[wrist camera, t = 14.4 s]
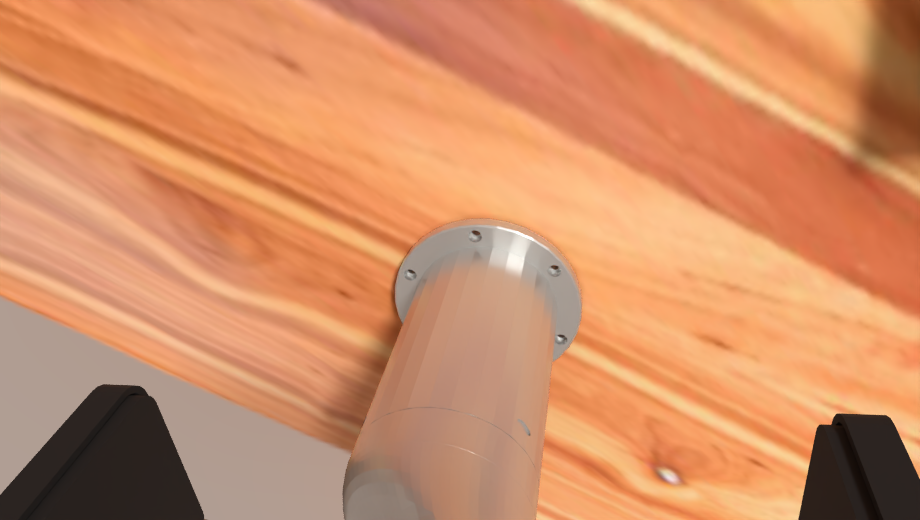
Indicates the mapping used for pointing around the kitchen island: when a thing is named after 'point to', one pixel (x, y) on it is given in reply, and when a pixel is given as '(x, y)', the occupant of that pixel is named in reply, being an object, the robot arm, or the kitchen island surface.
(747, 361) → the kitchen island surface
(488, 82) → the kitchen island surface
